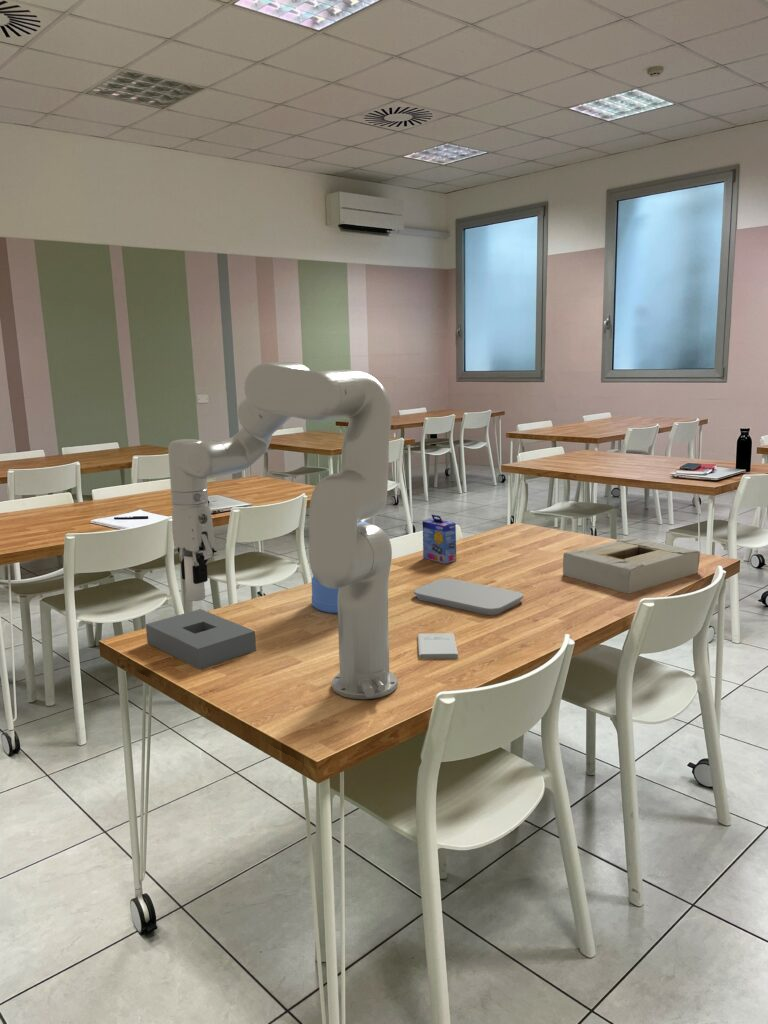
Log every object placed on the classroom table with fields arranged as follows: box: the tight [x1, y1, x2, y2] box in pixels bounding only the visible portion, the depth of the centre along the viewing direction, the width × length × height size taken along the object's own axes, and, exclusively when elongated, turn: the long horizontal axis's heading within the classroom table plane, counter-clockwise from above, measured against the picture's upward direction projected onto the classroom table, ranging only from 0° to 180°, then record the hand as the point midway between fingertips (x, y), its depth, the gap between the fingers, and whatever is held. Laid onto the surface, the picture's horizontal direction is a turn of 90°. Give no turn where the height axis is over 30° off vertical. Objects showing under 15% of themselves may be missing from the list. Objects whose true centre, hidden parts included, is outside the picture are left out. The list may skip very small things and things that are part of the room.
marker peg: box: [183, 547, 206, 602], centre depth 164 cm, size 4×4×12 cm
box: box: [562, 536, 701, 595], centre depth 216 cm, size 23×8×32 cm
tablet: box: [413, 577, 524, 616], centre depth 197 cm, size 16×26×2 cm, turn 51°
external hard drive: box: [417, 632, 459, 660], centre depth 164 cm, size 2×8×12 cm
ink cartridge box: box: [421, 514, 457, 565], centre depth 235 cm, size 10×6×14 cm, turn 42°
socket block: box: [145, 608, 257, 670], centre depth 167 cm, size 22×14×4 cm, turn 45°
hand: (194, 579), depth 165 cm, fingers closed on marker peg, 4 cm apart
